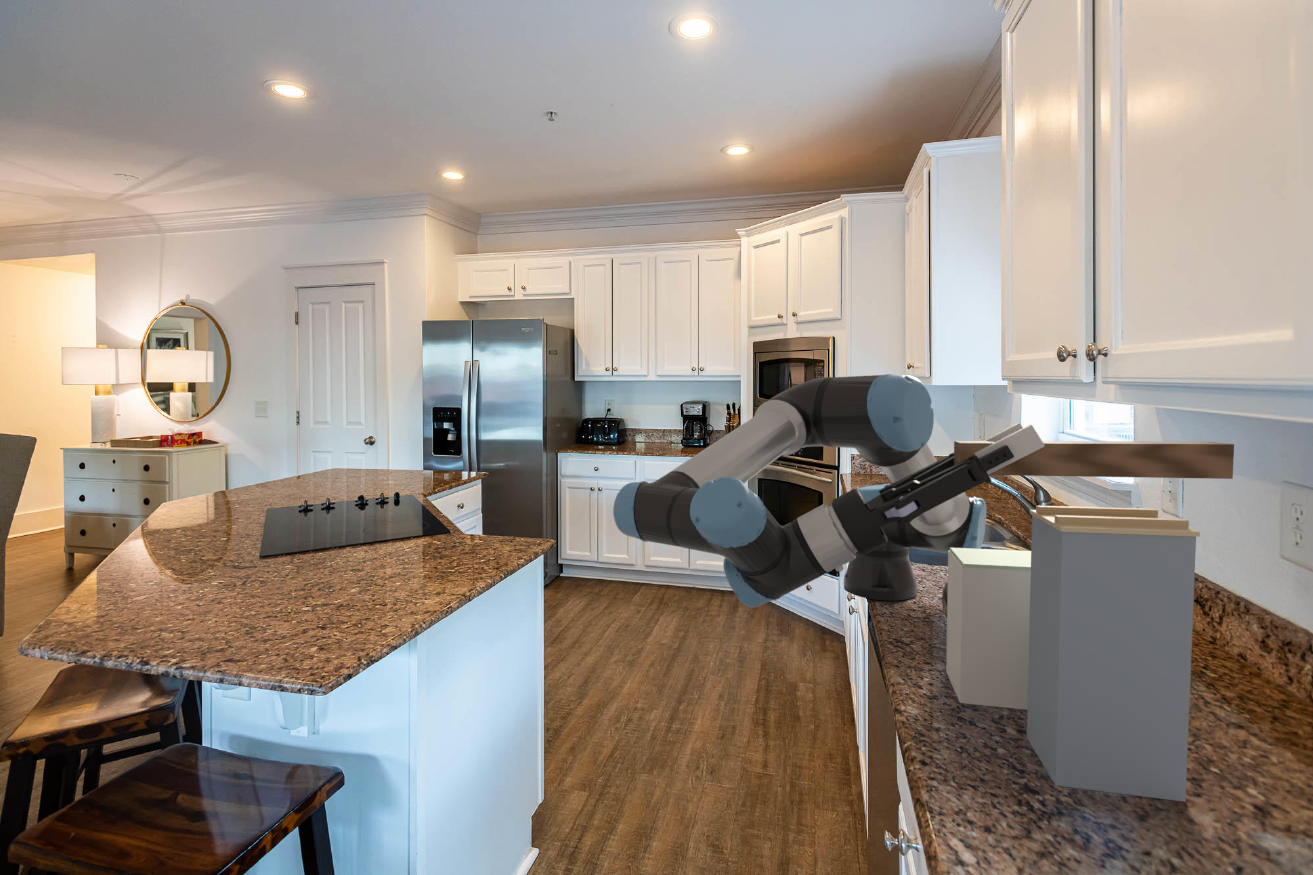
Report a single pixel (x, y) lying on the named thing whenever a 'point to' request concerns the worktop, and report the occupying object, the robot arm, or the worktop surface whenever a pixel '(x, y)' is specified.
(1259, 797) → the worktop surface
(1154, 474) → the walnut block
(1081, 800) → the worktop surface
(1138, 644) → the pillar
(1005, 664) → the felt block
